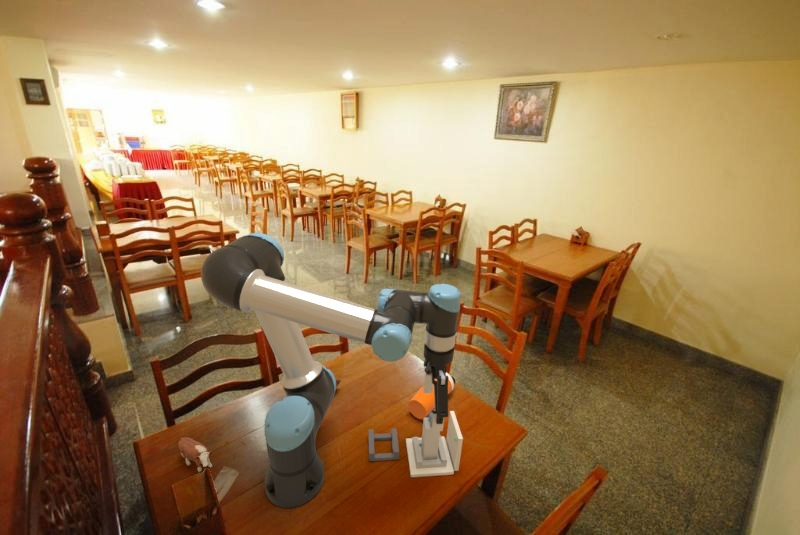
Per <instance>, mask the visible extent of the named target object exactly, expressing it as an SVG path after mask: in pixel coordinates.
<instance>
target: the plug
mask: <svg viewBox="0 0 800 535" xmlns="http://www.w3.org/2000/svg"><path fill="white" fill-rule="evenodd" d="M422 421H423V422H422V432H421V438H422V443H421V452H422V457H423V460H434V459H437V456H438V447H439V438H440V435H441V431H432V422H433V413H432V411H431V412H430V413H429V414H428V416H427V417H426V418H424V419H422Z"/></svg>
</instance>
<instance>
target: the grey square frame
mask: <svg viewBox="0 0 800 535" xmlns="http://www.w3.org/2000/svg"><path fill="white" fill-rule="evenodd" d="M397 430H398V429H397V428H396V427H394V428H391V431H390V433H374V432H375V431H374V429H373V428H372V429H368V461H369V462H379V461H383V462H384V461H393V460H395V461H396V460H398V461H399V460H400V447H399V440H398V431H397ZM390 440H391V447H392V452H389V453H388V452H387V453H386V452H385V453H375V442H376V441H390Z"/></svg>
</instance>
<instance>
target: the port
mask: <svg viewBox="0 0 800 535" xmlns="http://www.w3.org/2000/svg"><path fill="white" fill-rule="evenodd" d="M463 441H464V437H463V434H462V432H461V429H460V426H459V422H458V420H457V416H456V413H455V411H454V410H449V413H448V423H447V432H446V437H445V436H443V435H441V434H440V438H439V447H438V456H437V459H434V460H423V457H422V452H421V443H422V437H419V436H412V437H411V438H408V437H407V438H405V446H406V454H407V459H408V465H409V473H410V478H421V477H434V476H436V477H437V476H449V475H454V473H455V472H458V471H460V470H459V468H460V464H461V462H460V460H461V456H462V448H463Z"/></svg>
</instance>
